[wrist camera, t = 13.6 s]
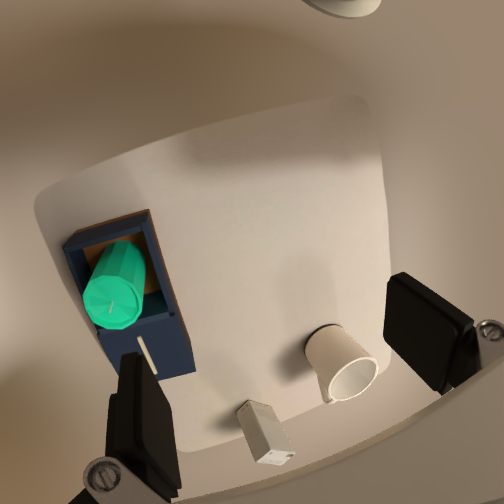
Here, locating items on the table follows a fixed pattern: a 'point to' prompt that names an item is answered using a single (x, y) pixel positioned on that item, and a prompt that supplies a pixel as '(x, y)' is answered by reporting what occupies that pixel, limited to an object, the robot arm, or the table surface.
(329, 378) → the mug
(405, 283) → the robot arm
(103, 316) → the candle
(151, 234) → the navy slotted box
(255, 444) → the cosmetic box
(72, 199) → the table surface
